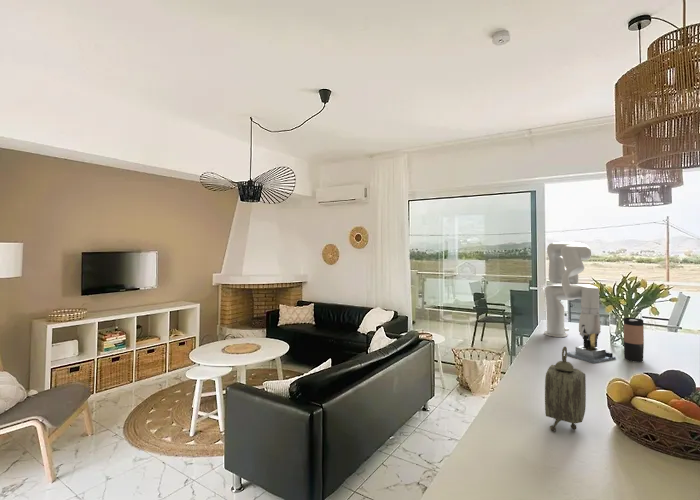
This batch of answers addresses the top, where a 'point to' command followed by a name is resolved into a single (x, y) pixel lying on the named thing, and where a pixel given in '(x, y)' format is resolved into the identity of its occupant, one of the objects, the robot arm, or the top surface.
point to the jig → (591, 354)
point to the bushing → (592, 342)
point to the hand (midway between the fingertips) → (590, 346)
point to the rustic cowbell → (565, 393)
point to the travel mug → (633, 339)
